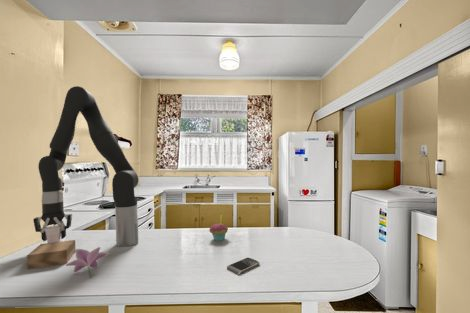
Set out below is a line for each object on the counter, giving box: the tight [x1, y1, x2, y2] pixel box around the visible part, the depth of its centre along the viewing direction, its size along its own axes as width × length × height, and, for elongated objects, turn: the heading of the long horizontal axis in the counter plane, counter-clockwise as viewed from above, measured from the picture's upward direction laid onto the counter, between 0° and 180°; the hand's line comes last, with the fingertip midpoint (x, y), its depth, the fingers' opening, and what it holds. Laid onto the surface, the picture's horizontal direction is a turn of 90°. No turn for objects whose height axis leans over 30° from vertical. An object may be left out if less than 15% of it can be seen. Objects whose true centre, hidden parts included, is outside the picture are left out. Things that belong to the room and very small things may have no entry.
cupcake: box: [208, 214, 229, 242], centre depth 114 cm, size 9×8×12 cm
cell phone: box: [226, 257, 260, 275], centre depth 85 cm, size 6×11×1 cm, turn 132°
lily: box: [64, 247, 111, 279], centre depth 83 cm, size 12×12×10 cm
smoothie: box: [44, 224, 61, 243], centre depth 107 cm, size 6×6×14 cm
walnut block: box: [26, 239, 76, 270], centre depth 96 cm, size 12×12×5 cm
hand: (54, 239), depth 107 cm, fingers closed on smoothie, 6 cm apart
